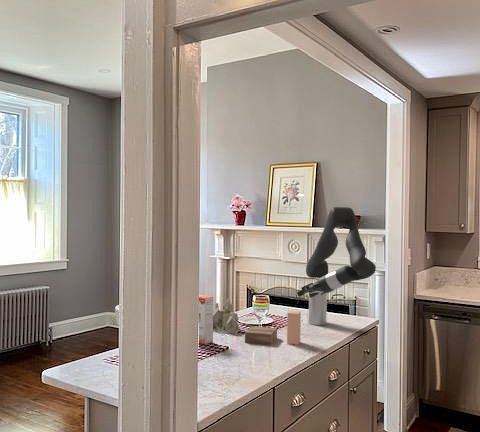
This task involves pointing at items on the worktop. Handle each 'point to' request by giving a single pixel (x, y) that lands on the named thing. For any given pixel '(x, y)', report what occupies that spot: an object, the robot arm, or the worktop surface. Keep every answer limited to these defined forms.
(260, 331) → the walnut base
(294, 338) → the terracotta block
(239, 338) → the worktop surface
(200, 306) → the cracker box
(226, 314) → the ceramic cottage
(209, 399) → the worktop surface
